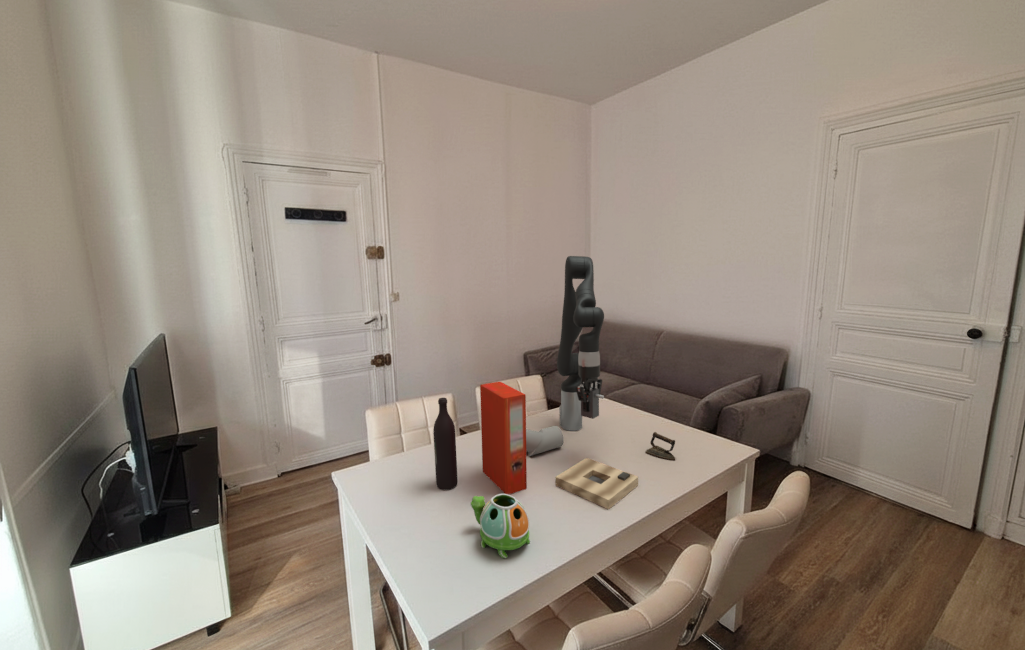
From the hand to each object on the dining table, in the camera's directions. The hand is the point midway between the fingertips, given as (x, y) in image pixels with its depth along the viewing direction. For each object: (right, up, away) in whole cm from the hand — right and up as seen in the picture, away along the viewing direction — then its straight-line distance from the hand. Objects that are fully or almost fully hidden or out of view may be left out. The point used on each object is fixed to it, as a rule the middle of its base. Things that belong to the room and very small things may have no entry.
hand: (589, 409), depth 148 cm
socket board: (0, -22, -13) cm, 26 cm away
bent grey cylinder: (-20, -19, +15) cm, 31 cm away
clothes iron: (+29, -19, +6) cm, 35 cm away
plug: (+1, -2, -1) cm, 3 cm away
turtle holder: (-31, -27, -39) cm, 56 cm away
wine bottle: (-50, -23, -11) cm, 56 cm away
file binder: (-31, -22, -8) cm, 39 cm away
